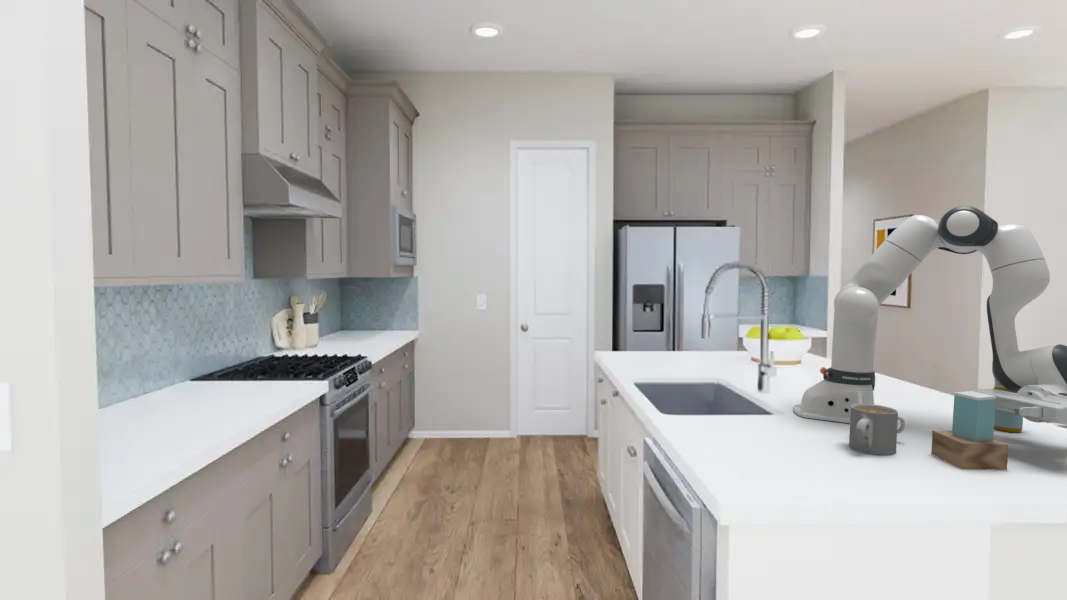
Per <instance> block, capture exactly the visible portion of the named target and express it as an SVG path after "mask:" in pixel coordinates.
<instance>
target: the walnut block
mask: <svg viewBox="0 0 1067 600" xmlns="http://www.w3.org/2000/svg"><path fill="white" fill-rule="evenodd" d="M1009 445H1010V444H1008V443H1006V442H1004V441H1000V440H998V439H996V438H993V440H987V441H978V442H975V441H971V440H968V439H965V438H961V437H958V436H954V435H952V430H932V436H931V451H930V453H931V454H930V455H932V454H933V455H932V456H934V455H935V456H934V457H936V456H937V457H936V458H938V457H939V458H938V459H940V460H942V461H944V460H945V461H944V462H946V461H947V462H946V463H948V462H949V463H948V464H950V463H951V464H950V465H952V464H953V465H952V466H954V465H955V467H956V466H957V467H956V468H958V467H959V468H958V469H960V468H961V470H986V469H995V471H997V470H998V471H1008V460H1009Z"/></svg>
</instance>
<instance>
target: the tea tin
mask: <svg viewBox="0 0 1067 600" xmlns="http://www.w3.org/2000/svg"><path fill="white" fill-rule="evenodd" d="M995 404H996V396H992V395H988V394H983V393H978V392H974V391H972V390H970V391H967V390H966V391H955V392H953V411H952V412H953V413H952V429H951V431H952V435H954V436H958V437H961V438H965V439H968V440H971V441H975V442H978V441H987V440H993V439H994V434H995V429H994V419H995Z"/></svg>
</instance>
